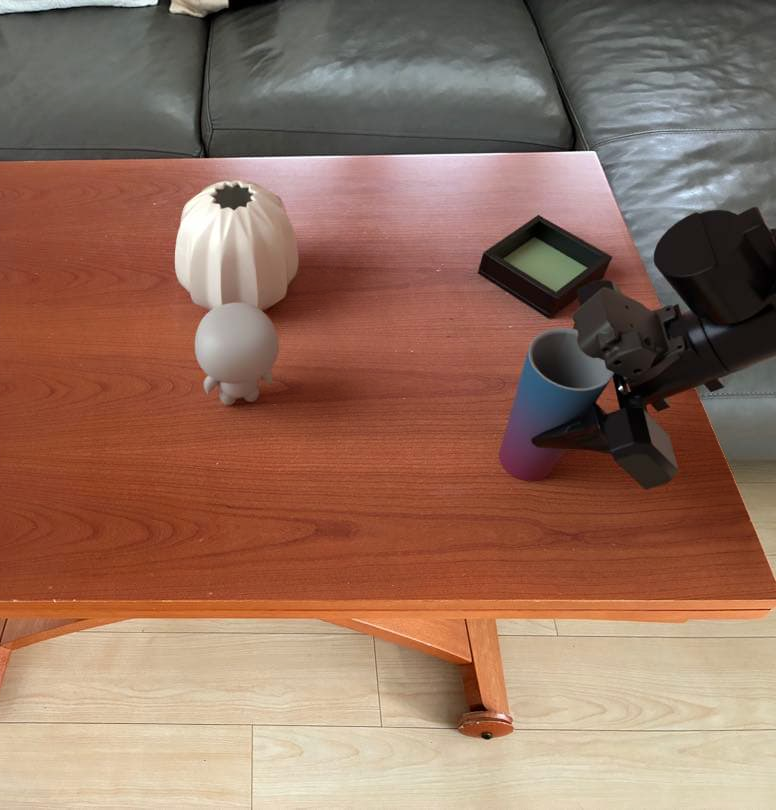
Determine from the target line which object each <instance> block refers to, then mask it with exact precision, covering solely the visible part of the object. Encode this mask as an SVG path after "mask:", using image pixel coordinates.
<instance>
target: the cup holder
mask: <svg viewBox="0 0 776 810" xmlns="http://www.w3.org/2000/svg"><path fill="white" fill-rule="evenodd" d="M480 259H481V260H480V262H479V267H478V270H477V274H478V275H480V276H481V277H482V278H485V279H486V280H487V281H489V282H491V283H492V284H494V285H495V286H497V287H498V288H500V289H502V290H503V291H504V292H506V293H507V294H510V295H511V296H512V297H514V298H515V299H517V300H518V301H520V302H522V303H523V304H524V305H526V306H528V307H530V308H531V309H533V310H534V311H536V312H537V313H539V314H540V315H542V316H544V317H545V318H547V319H548V320H551V319H552V318H553V317H554V316H555V315H557V314H558V313H560V312H561V311H562V310H564V309H565V308H566V307H567V306H568V305H570V304H571V303H573V302H574V301H575V300H576V299H578V294H577V289H579V288H581V287H583V286H585V285H587V284H589V283H591V282H593V281H595V280H603V279H604V276H605V275H606V272H607V270H608V269H609V266H610V264H611V262H612V259H613V256H612V255H610V254H609V253H607V252H605V251H603V250H601V249H599V248H598V247H596V246H595V245H593V244H591V243H589V242H587V241H586V240H584V239H582V238H580V237H578V236H576V235H575V234H573V233H571V232H570V231H568V230H566V229H564V228H563V227H560V226H559V225H557V224H556V223H553V222H552V221H550V220H548V219H546V218H545V217H544V216H542V215H540V214H537V215H535V216H534V217H533V218H531V219H530V220H528V221H527V222H526V223H524V224H522V225H521V226H519V228H516V229H515V230H514V231H513V232H511V233H510V234H508V235H507V236H505V237H504V238H502V239H500V241H498V242H497V243H495V244H493V245H492V246H491V247H489V248H488V249H486V250H485V251H483V253H482V256H481V258H480Z"/></svg>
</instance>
